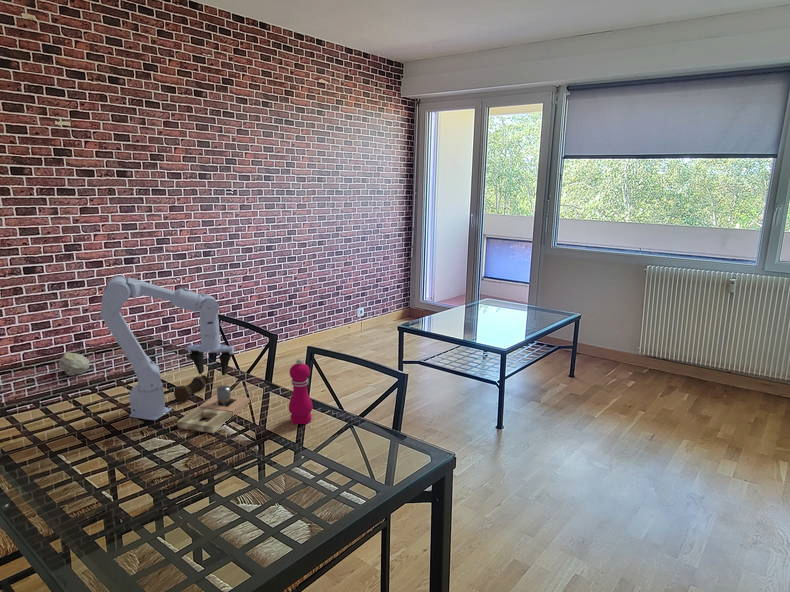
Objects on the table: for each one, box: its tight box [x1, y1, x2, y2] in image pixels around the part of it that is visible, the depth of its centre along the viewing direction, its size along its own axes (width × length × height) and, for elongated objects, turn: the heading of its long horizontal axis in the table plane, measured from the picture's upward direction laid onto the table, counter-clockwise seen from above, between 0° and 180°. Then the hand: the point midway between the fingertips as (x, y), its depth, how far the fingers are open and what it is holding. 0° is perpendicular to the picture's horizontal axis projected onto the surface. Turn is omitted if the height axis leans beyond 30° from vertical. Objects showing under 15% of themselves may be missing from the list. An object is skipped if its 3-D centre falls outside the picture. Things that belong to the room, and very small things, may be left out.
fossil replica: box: [58, 352, 91, 377], centre depth 191 cm, size 12×8×10 cm
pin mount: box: [176, 406, 233, 434], centre depth 156 cm, size 12×10×2 cm
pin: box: [216, 384, 232, 407], centre depth 165 cm, size 4×4×7 cm
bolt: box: [173, 375, 210, 403], centre depth 177 cm, size 6×5×15 cm
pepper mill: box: [288, 358, 314, 425], centre depth 156 cm, size 7×7×20 cm
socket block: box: [198, 393, 251, 417], centre depth 166 cm, size 12×10×2 cm
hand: (212, 373), depth 167 cm, fingers open, 7 cm apart
